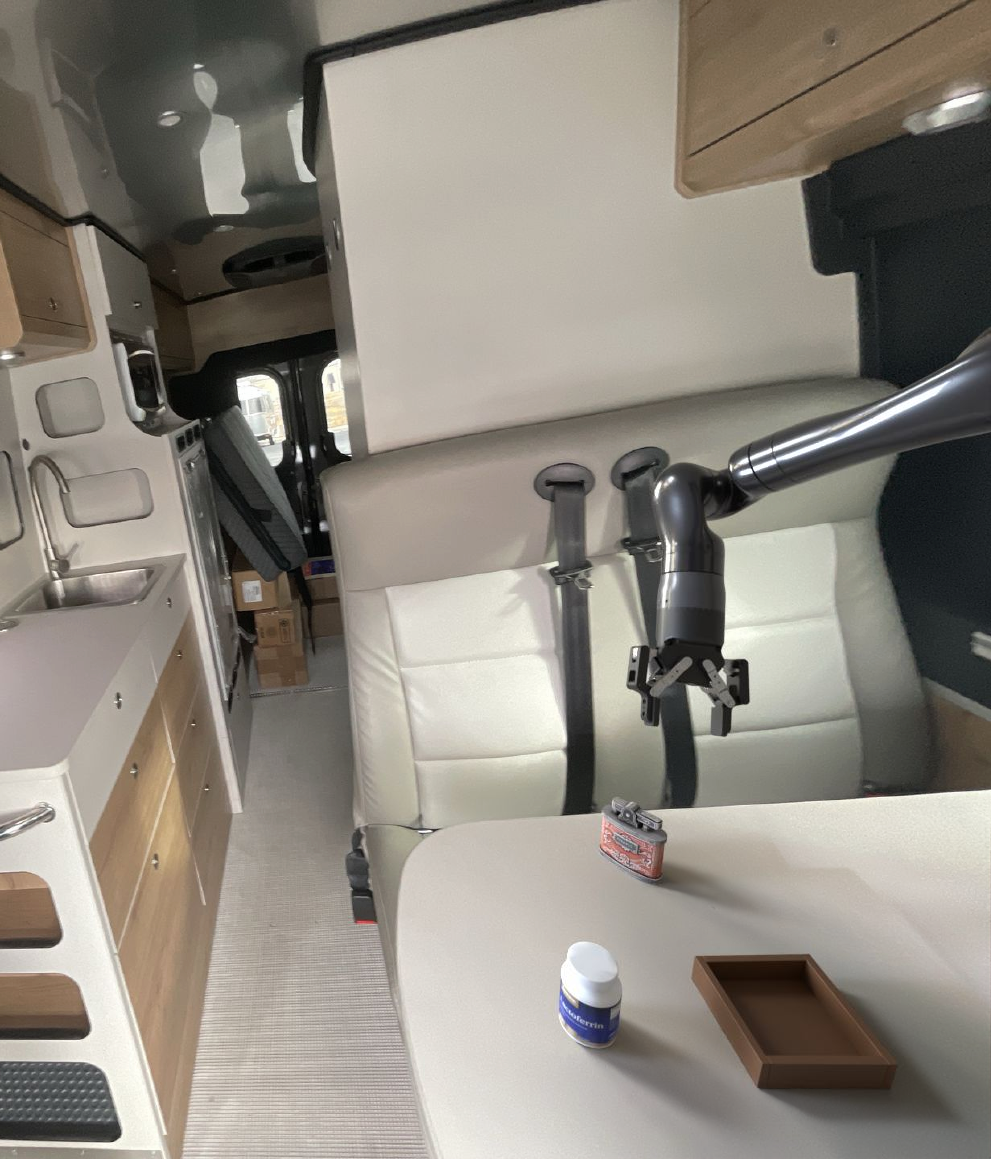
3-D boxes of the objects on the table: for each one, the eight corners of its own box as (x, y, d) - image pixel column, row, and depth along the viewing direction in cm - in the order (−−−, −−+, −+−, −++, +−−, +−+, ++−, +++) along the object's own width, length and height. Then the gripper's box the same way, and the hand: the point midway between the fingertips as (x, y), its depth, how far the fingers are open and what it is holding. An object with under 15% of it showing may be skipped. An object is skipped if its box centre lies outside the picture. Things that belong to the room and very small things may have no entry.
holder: (803, 976, 74) (809, 953, 73) (890, 1089, 63) (898, 1064, 62) (691, 978, 76) (694, 955, 74) (756, 1088, 65) (762, 1064, 64)
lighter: (593, 853, 94) (597, 797, 90) (607, 842, 95) (611, 786, 91) (653, 889, 87) (660, 829, 83) (667, 876, 88) (675, 817, 85)
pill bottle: (549, 1028, 73) (552, 964, 69) (569, 989, 77) (573, 927, 73) (607, 1063, 69) (613, 997, 65) (625, 1021, 73) (632, 956, 69)
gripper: (652, 598, 86) (645, 725, 84) (767, 614, 85) (763, 742, 83) (620, 605, 93) (613, 721, 91) (725, 619, 92) (721, 737, 90)
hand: (685, 731), depth 87 cm, fingers open, 8 cm apart
